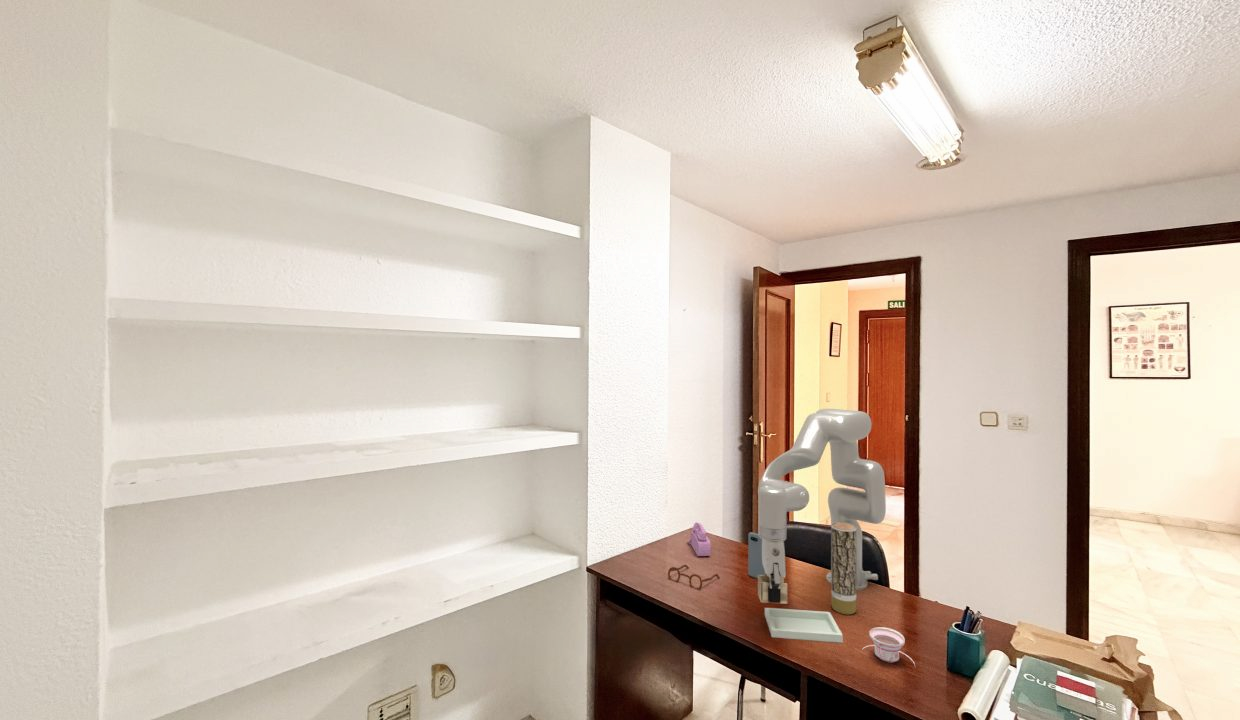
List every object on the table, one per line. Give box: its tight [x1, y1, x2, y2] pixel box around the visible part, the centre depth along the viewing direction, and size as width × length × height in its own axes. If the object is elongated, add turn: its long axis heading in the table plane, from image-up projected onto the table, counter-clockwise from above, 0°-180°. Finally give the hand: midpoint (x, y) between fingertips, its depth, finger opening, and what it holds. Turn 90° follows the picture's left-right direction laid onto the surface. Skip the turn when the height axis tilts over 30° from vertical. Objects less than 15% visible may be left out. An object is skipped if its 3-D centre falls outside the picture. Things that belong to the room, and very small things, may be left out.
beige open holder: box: [757, 575, 788, 605], centre depth 137 cm, size 7×5×5 cm
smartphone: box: [747, 532, 765, 579], centre depth 168 cm, size 8×1×15 cm, turn 47°
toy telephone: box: [687, 521, 712, 557], centre depth 195 cm, size 18×6×10 cm, turn 4°
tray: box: [764, 607, 844, 644], centre depth 136 cm, size 18×12×2 cm, turn 82°
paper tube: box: [830, 522, 857, 616], centre depth 147 cm, size 7×7×25 cm
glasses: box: [667, 564, 721, 591], centre depth 168 cm, size 13×13×5 cm
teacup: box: [863, 626, 916, 666], centre depth 122 cm, size 12×12×6 cm
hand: (772, 596), depth 137 cm, fingers closed on beige open holder, 5 cm apart
